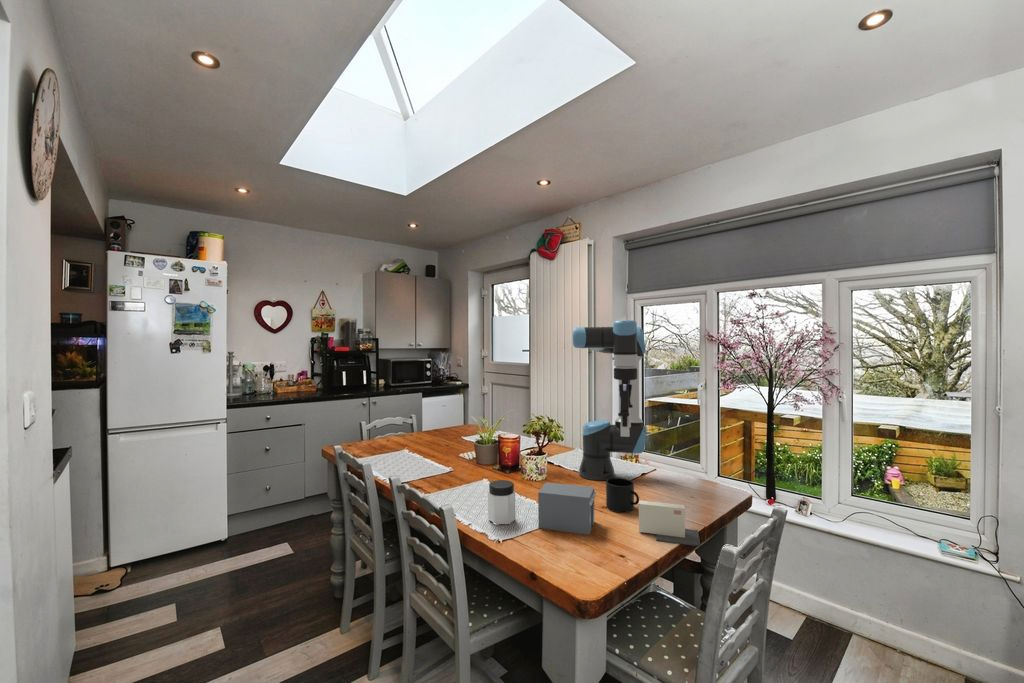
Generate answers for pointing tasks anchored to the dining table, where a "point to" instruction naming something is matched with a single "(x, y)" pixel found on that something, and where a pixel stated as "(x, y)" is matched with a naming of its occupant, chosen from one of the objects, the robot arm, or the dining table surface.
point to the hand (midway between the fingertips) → (625, 431)
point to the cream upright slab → (662, 518)
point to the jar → (501, 502)
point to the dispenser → (566, 508)
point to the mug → (620, 495)
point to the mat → (689, 539)
